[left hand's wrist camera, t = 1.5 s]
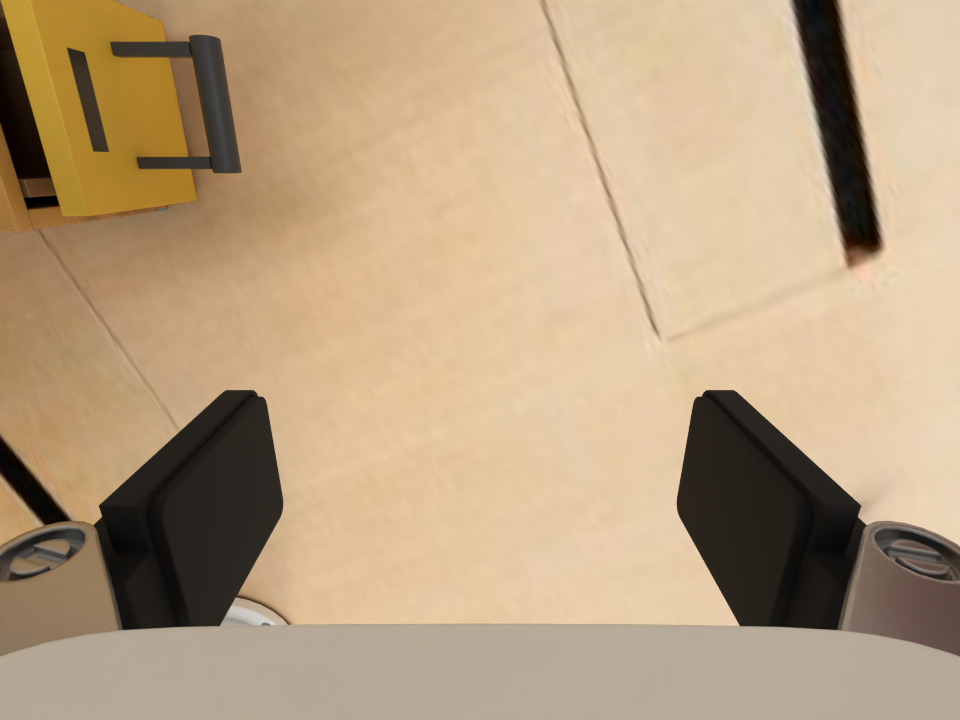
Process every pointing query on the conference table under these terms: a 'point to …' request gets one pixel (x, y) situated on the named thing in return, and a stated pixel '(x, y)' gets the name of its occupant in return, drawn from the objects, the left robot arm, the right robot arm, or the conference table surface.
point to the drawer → (105, 106)
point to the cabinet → (37, 203)
